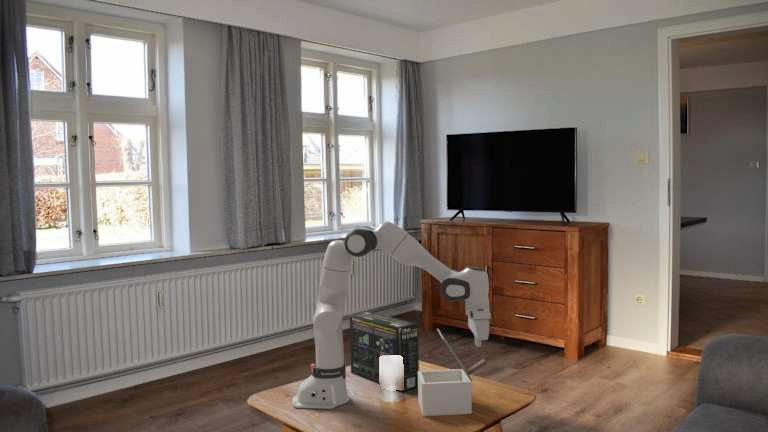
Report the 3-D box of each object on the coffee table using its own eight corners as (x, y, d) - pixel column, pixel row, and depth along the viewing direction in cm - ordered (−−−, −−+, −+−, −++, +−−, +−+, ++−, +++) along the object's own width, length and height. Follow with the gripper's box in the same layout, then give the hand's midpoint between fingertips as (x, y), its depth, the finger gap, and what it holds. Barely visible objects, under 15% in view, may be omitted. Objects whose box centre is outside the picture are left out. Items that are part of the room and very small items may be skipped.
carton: (423, 416, 227) (422, 384, 226) (418, 401, 242) (417, 371, 241) (471, 413, 228) (471, 381, 227) (464, 398, 243) (463, 368, 242)
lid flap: (442, 340, 225) (462, 326, 226) (436, 329, 241) (455, 316, 241) (471, 382, 227) (490, 368, 227) (463, 368, 243) (481, 356, 243)
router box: (421, 386, 259) (419, 323, 257) (401, 393, 252) (399, 328, 250) (368, 367, 286) (366, 310, 285) (349, 372, 279) (347, 314, 278)
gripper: (463, 304, 244) (464, 338, 245) (474, 316, 223) (475, 353, 224) (479, 303, 244) (480, 337, 245) (491, 315, 224) (492, 352, 225)
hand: (478, 345), depth 234 cm, fingers closed
